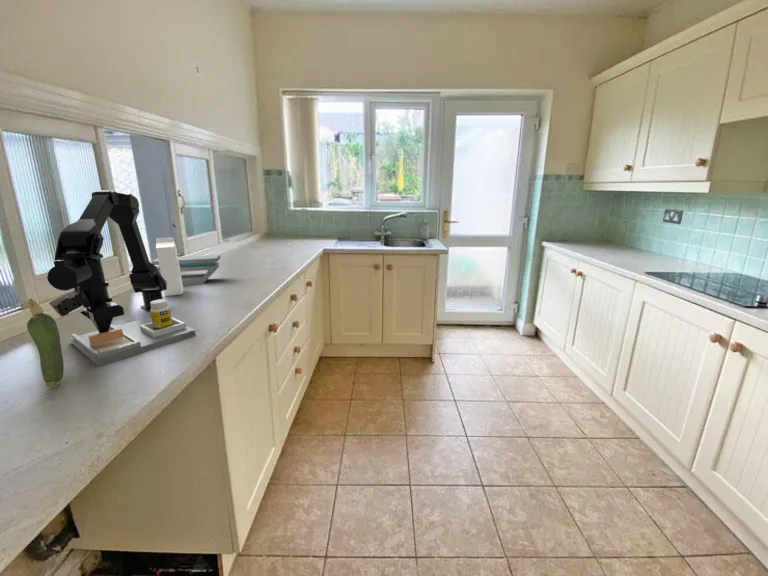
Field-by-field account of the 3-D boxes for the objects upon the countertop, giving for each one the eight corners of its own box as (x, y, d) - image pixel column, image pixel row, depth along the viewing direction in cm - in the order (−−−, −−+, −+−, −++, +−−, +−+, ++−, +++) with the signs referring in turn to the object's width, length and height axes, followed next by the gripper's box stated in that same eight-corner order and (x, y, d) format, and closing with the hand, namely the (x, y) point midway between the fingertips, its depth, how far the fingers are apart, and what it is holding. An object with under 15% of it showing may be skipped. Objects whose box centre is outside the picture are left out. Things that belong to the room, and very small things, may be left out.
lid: (90, 347, 92) (88, 336, 91) (122, 338, 97) (120, 327, 97) (101, 355, 87) (98, 344, 87) (134, 345, 93) (131, 334, 92)
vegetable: (56, 379, 80) (31, 293, 74) (77, 378, 80) (54, 293, 75) (40, 390, 76) (12, 300, 70) (62, 389, 76) (36, 299, 70)
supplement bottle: (163, 332, 101) (158, 304, 99) (149, 331, 102) (144, 303, 100) (176, 326, 105) (171, 299, 103) (163, 325, 106) (157, 298, 104)
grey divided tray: (71, 343, 98) (68, 333, 97) (161, 318, 116) (159, 309, 115) (98, 366, 86) (95, 355, 85) (195, 334, 103) (193, 325, 102)
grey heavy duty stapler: (156, 286, 152) (151, 261, 149) (162, 281, 160) (158, 257, 157) (219, 282, 158) (216, 258, 155) (223, 278, 165) (220, 254, 162)
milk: (182, 294, 141) (173, 238, 135) (164, 296, 139) (154, 239, 133) (183, 290, 147) (174, 236, 140) (166, 292, 144) (156, 237, 138)
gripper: (38, 280, 90) (54, 337, 94) (59, 293, 79) (76, 357, 83) (93, 271, 98) (105, 324, 103) (118, 282, 88) (131, 341, 92)
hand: (104, 336), depth 95 cm, fingers closed
